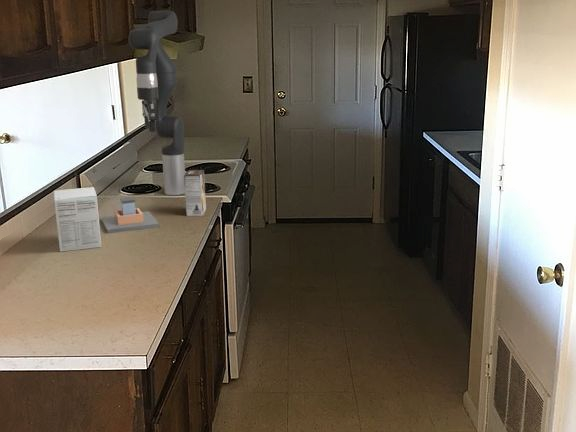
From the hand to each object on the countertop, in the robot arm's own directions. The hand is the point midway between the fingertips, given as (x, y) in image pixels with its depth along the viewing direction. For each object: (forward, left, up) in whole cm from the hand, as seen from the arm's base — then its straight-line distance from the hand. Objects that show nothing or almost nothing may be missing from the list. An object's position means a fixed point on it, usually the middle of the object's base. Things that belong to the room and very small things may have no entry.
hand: (150, 130), depth 242 cm
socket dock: (+10, -12, -32) cm, 36 cm away
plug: (+10, -12, -31) cm, 35 cm away
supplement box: (+27, -31, -32) cm, 52 cm away
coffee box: (+7, +14, -32) cm, 36 cm away
